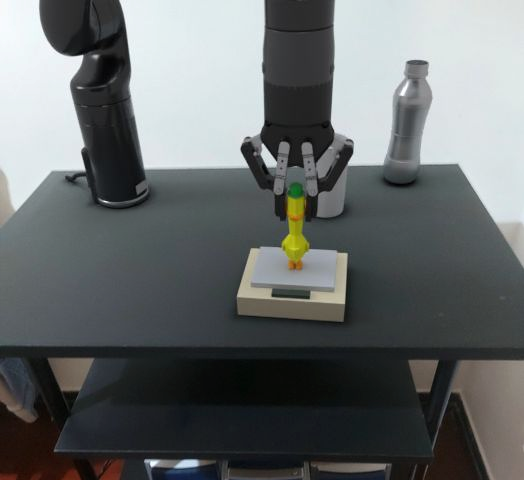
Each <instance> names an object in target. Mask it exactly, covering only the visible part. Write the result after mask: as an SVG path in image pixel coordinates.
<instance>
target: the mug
mask: <svg viewBox="0 0 524 480" xmlns="http://www.w3.org/2000/svg"><path fill="white" fill-rule="evenodd" d="M334 132H335V135H336V136H338V137H340V138H342V139H344V140H346V139H351V138H350V137H349V136H348V135H346V134H345V133H341V132H337V131H334ZM334 159H335V158H334V157H333V147H332V146H330V147H329V148H328V149H327V151H326V152H325V153H324V154H323V155H322V157H321V158H320V159H319V160H318V162H317V164H318V177H319V178H321V177H325V175H326V173H327V171H328V169H329V168H330V166H331V164H332V162H333V161H334ZM348 167H349V163H348V164H347V165H346V167H345V169H344V170H343V172H342V174H341V176H340V177H339V179H338V181H337V182H336V184H335V186H334V188H333V189H332V191H330V192H326V191H324V192H321V193H320V194H319V195H318V211H317V216H316V218H322V219H328V218H334V217H338V216H339V215H341V214H342V213H343V211H344V206H345V199H346V198H345V197H346V189H347V188H346V186H347V178H348V170H349V169H348Z"/></svg>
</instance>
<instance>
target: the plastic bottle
mask: <svg viewBox="0 0 524 480" xmlns="http://www.w3.org/2000/svg"><path fill="white" fill-rule="evenodd" d="M429 67H430V62H429V61H428V60H425V59H424V60H423V59H410V60H407V61H405V65H404V70H403V76H404V78H403V79H402V81H401V82H400V83H399V85H398V86H397V87H396V89H395V90H394V92H393V94H392V102H391V103H392V106H391V107H392V108H391V110H392V111H391V112H392V115H391V118H392V119H391V130H390V138H389V142H388V146H387V151H386V154H385V157H384V160H383V163H382V174H383V177H384V178H385V180H386V181H388V182H391V183H393V184H399V185H400V184H408V183H409V184H410V183H412V182H414V181H415V180H416V178H417V177H418V175H419V172H420V170H421V149H422V140H423V139H422V138H423V134H424V129H425V125H426V121H427V119H428V115H429V112H430V109H431V105H432V102H433V98H434V97H433V90H432V88H431V85H430V84H429V82H428V80H427V77H428V76H429Z"/></svg>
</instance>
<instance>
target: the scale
mask: <svg viewBox="0 0 524 480" xmlns="http://www.w3.org/2000/svg"><path fill="white" fill-rule="evenodd" d="M301 260H302V267H301V269H300V270H296V262H295V267H294V269H293V270H290V269H289V258H288V257H287V255H286V254H285V252H284V251H283V250H282V247H276V246H260V247H259V248H257V247H256V248H253V247H250V251H249V254H248V258H247V261H246V264H245V267H244V271H243V274H242V278H241V281H240V283H239V284H240V285H239V288H238V291H237V295H236V306H237V315H238V316H251V317H264V318H266V317H267V318H281V319H296V320H307V321H308V320H309V321H322V322H323V321H324V322H339V323H344V320H345V311H346V310H345V309H346V297H347V296H346V293H347V275H348V274H347V273H348V272H347V271H348V253H347V252H338V250H333V249H316V248H309V251H308V252H306V253H305V254H304V256H303V257H302V258H301Z"/></svg>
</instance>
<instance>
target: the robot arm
mask: <svg viewBox="0 0 524 480" xmlns="http://www.w3.org/2000/svg"><path fill="white" fill-rule="evenodd" d="M38 11H39V12H38V13H39V14H38V15H39V21H40V25H41V29H42V31H43V34H44V36H45V39H46V41H47V42H48V43H49V45H50V47H51V48H52V49H53V50H54V51H55V52H57V53H58V54H59V55H62V56H65V57H69V58H72V57H81V56H82V61H81V64H80V66H79V68H78V70H77V71H76V73H75V74H74V75H73V76H72V78H71V79H70V82H69V90H70V95H71V98H72V101H73V103H72V104H73V107H74V110H75V114H76V118H77V122H78V127H79V130H80V134H81V138H82V142H83V146H84V147H82V148H81V149H80V154H81V158H82V162H83V167H84V169H85V171H84V172H77V173H74V174H73V175H72V176H70V175H67V174H66V175H65V176H64V179H65V180H67V181H70V182H74V181H75V180H76V179H77V178H83V177H85V178H86V179H85V180H86V182H87V186H88V188H89V190H90V193H91V198H92V201H93V203H94V204H100V205H101V206H103V207H106V208H113V209H114V208H115V209H119V208H121V209H122V208H128V207H133V206H136V205H138V204H140V203H143V202H144V201H145V200H146V199H147V198H148V197H149V195H150V190H149V183H148V179H147V177H146V170H145V165H144V160H143V153H142V149H141V142H140V137H139V132H138V128H137V127H138V126H137V121H136V115H135V110H134V104H133V98H132V92H131V86H130V84H131V79H132V62H131V55H130V47H129V39H128V38H129V37H128V31H127V23H126V19H125V18H126V17H125V13H124V10H123V7H122V3H121V1H120V0H38ZM335 11H336V0H263V15H264V16H263V19H264V25H263V26H264V29H263V41H262V61H261V72H262V73H261V74H262V76H263V77H262V83H263V84H262V86H263V87H262V88H263V91H262V92H263V126H262V127H261V130H260V132H259V133H258V134H256V135H253V136H252V137H251V136H249V135H248V136H245V137H244V138H243V140H242V142H241V145H240V148H239V150H240V153H241V154H242V157H243V159H244V160H245V162H246V164H247V166H248V168H249V170H250V172H251V174H252V175H253V178H254V179H255V181H256V183H257V185H258V187H259V188H260V189H261V190H263V191H265V190H269V191H271V192H272V193H273V195H274V196H273V197H274V215H275V217H277V218H279V222H287V221H286V220H287V218H288V216H287V214H286V206H287V196H288V194H287V193H288V187H286V181H287V174H288V169H290V168H295V167H297V168H300V169H303V170H304V176H305V180H306V195H305V200H306V215H305V223H310V224H311V223H312V219H316V218H317V217H316V216H317V211H318V195H319V194H320V193H321V192H324V191H326V192H330V191H332V189H333V188H334V186H335V184H336V182H337V181H338V179H339V177H340V176H341V174H342V172H343V170H344V169H345V167H346V165H347V164H348V165H349V162H350V160H351V159H352V156H354V149H355V143H354V140H353V139H351V138H350V139H346V140H344V139H342V138H340V137H338V136H336V135H335V132H336V131H335V129H334V127H333V124H332V111H333V110H332V109H333V90H334V75H335V57H336V55H335V54H336V45H335V44H336V43H335V24H334V23H335V14H336V13H335ZM262 145H264V147H265V148H266V150H267V151H268V153H270V155H271V156H272V158H273V159H274V161H275V162H276V166H275V172H274V173H275V174H274V175H273V174H271V172H270V170H269V169H268V166H267V164H266V162H265V160H264V158H263V156H262V152H263V147H262ZM330 146H332V147H333V157H334V158H335V159H334V161H333V162H332V164H331V166H330V168H329V169H328V171H327V173H326V175H325V177H321V178H319V177H318V164H317V162H318V160H319V159H320V158H321V157H322V155H323V154H324V153H325V152H326V151H327V149H328V148H329V147H330Z"/></svg>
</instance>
